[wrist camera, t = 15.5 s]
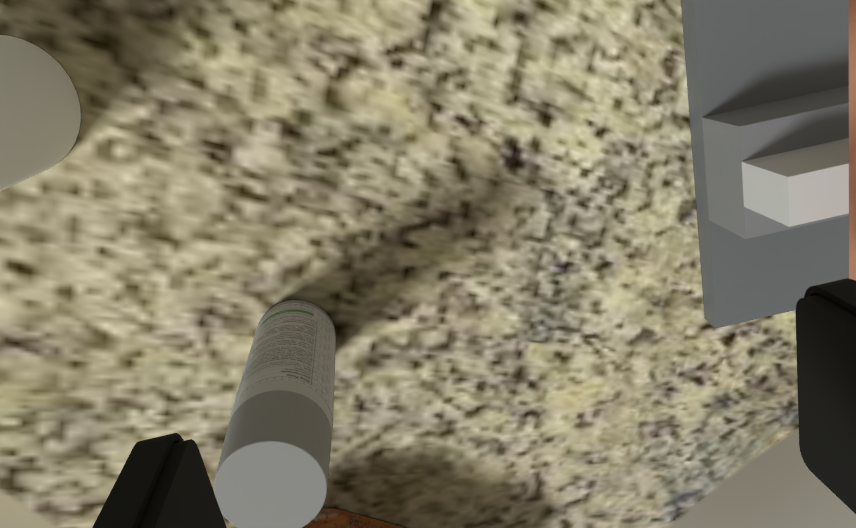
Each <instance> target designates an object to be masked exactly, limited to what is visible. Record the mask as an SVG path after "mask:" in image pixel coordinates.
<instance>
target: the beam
mask: <svg viewBox="0 0 856 528" xmlns="http://www.w3.org/2000/svg"><path fill="white" fill-rule="evenodd" d="M849 279H853V280H855V281H856V0H849Z"/></svg>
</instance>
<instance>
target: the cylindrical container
mask: <svg viewBox="0 0 856 528" xmlns="http://www.w3.org/2000/svg"><path fill="white" fill-rule="evenodd" d="M80 123H81V111H80V103H79V99H78V96H77V92H76V90H75V88H74V85H73V83H72V81H71V79H70V77H69V76H68V75H67V73H66V72H65V71H64V69H63V68H62V67H61V65H60V64H59V63H58V62H57V61H56V60H55V59H54V58H52V57H51V56H50V55H49V54H48V53H47V52H45V51H44V50H42V49H41V48H39V47H38V46H36V45H34V44H32V43H30V42H27V41H25V40H23V39H19V38H16V37H12V36H7V35H0V191H2V190H4V189H6V188H9V187H11V186H13V185H15V184H17V183H19V182H22V181H24V180H26V179H28V178H30V177H32V176H35V175H37V174H39V173H41V172H43V171H45V170H48V169H49V168H51V167H53V166H54V165H56V164H57V163H59V162H60V161H61V160H62V159H63V158H64V157H65V156H66V155H67V154H68V153H69V152H70V150H71V149H72V147H73V145H74V144H75V142H76V139H77V136H78V133H79V130H80Z"/></svg>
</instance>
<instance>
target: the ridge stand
mask: <svg viewBox="0 0 856 528" xmlns="http://www.w3.org/2000/svg"><path fill="white" fill-rule="evenodd" d="M681 6H682V19H683V32H684V46H685V59H686V73H687V86H688V99H689V113H690V126H691V140H692V153H693V166H694V180H695V193H696V207H697V220H698V233H699V247H700V260H701V273H702V287H703V300H704V314H705V319H706V320H707V321H708V322H710V323H711V324H712V325H713V326H714V327H716V328H719V327H724V326H728V325H732V324H737V323H741V322H745V321H749V320H754V319H758V318H762V317H767V316H771V315H775V314H780V313H784V312H788V311H793V310H796V304H797V302H798V300H799V299H800V298H804V295H805V292H806V290H807V289H808V288H809V287H811V286H815V285H820V284H824V283H828V282H833V281H837V280H841V279H846V278H849V0H681Z"/></svg>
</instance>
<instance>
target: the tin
mask: <svg viewBox="0 0 856 528" xmlns="http://www.w3.org/2000/svg"><path fill="white" fill-rule="evenodd" d="M302 528H406V527H403V526H399V525H395V524H392V523H388V522H384V521H381V520H377V519H374V518H370V517H366V516H363V515H359V514H355V513H352V512H348V511H344V510H339V509H332V508H323V509H321V510H320V512H319V513H318V514H317V515H316V517H315V518H314V519H313V520H312V521H310V522H309V523H308V524H307V525H305V526H303V527H302Z"/></svg>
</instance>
